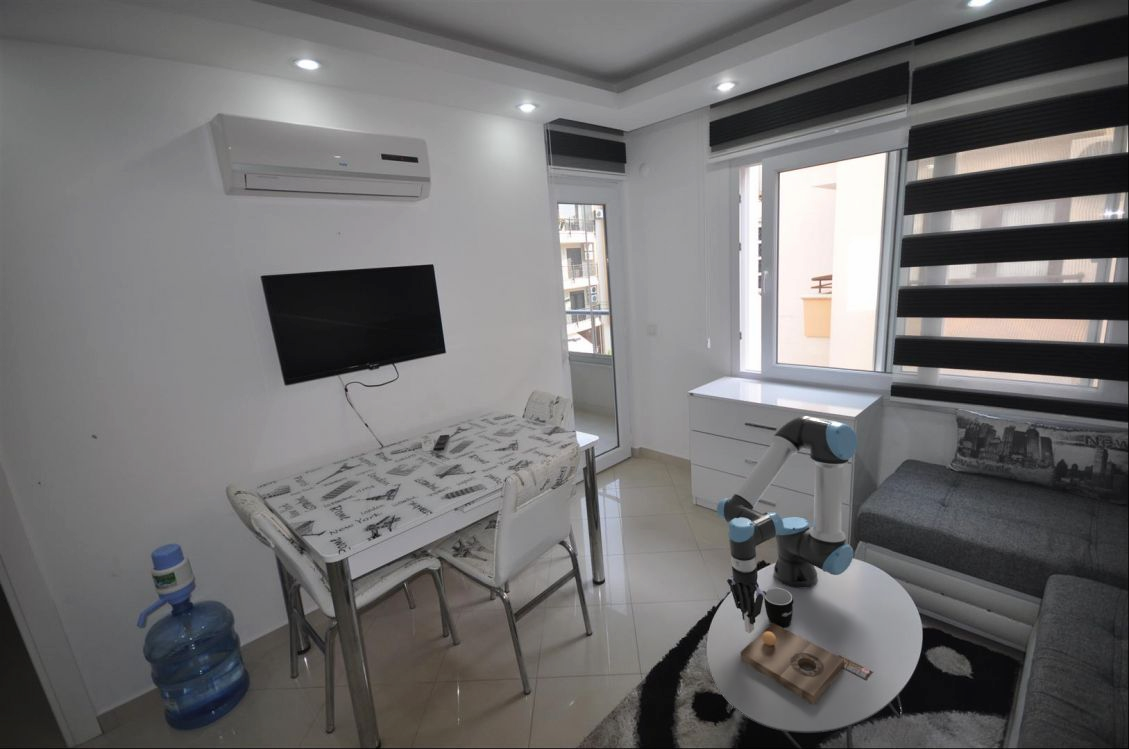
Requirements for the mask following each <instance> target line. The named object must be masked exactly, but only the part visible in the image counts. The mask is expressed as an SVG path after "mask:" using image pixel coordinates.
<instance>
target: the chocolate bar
mask: <svg viewBox="0 0 1129 749" xmlns="http://www.w3.org/2000/svg"><path fill="white" fill-rule="evenodd" d="M838 656H839V657H841V658H843V659H844V669H843V670H844V671H847V672H849V673H850V674H852V675H855V676H856V677H858V678H860V679H862V680H864V681H866V682H867V681H868V679H869V678H870V676H871V675H872V674H873V673H874V671H872V670H870V669H868V668H866V667H863V666H862V665H860V664H858V663H856V662H854V661H851V660H850V659H847V658H846V657H844V656H842V655H838Z"/></svg>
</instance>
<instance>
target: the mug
mask: <svg viewBox="0 0 1129 749" xmlns="http://www.w3.org/2000/svg"><path fill="white" fill-rule="evenodd" d="M764 591H765V592H766V595H765V596H764V598H763V603H764V608H765V612H766V615H767V619H768V622H769V623H770V624H771V623H774V624H776V625H778V626H780V627H782V628H784V629H786V628H788V627H789V626H790V625H791V624H792V620H793V614H794V613H793V612H794V611H793V610H794V609H793V608H794V602H795V600H794V596H793V595H792V594H791V592H789V591H788V590H787V589H784V588H781V587H771V588H768V589H766V590H764Z"/></svg>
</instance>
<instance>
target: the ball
mask: <svg viewBox="0 0 1129 749" xmlns="http://www.w3.org/2000/svg"><path fill="white" fill-rule="evenodd" d="M762 638H763V641H764V643H765V644H767V645H769V646H772V645H774V644H775V643H776V637H775V635H774V634H773V633H772V632H769V631H767V632H765V633H764V634H763V636H762Z"/></svg>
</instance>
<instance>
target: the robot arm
mask: <svg viewBox="0 0 1129 749" xmlns="http://www.w3.org/2000/svg"><path fill="white" fill-rule="evenodd" d="M771 441H772V443H771V444H770V446H769V447H768V448H767V449H766V451H765V453H764V454H763V455H762V456H761V458H760V459H759V461H758V462H757V463H756V464H755V465H754V467H753V468H752V470H751V471H750V473H749V474H747V476H746V478H745V479H744V480H743V482H742V483H741V485H740V486H739V487H738V488H737V489H736V491H735V493H734V494H733V495H732V496H731V498H728V497H725V498H723V499H721V500H720V501H718V504H717V507H716V513H717V515H718V517H719V518H720V519H722V520H723V521H725V522H726V523H728V539H729V541H728V542H729V550H730V559H731V571H732V576H730V577H729V578H728V579H726V582H727V584H728V586H729V587H730V591H731V594H732V597H733V601H734V604H735V607H736V608H737V609H738V610H739V609H740V611H741V616H742V620H743V621H744V631H745V632H747V633H748V634H750V633H752V632H753V631H754V630H755V623H756V618H757V617H758V616H759V615H760V614H761V612H762V608H763V603H764V596H765V595H766V592H765V591H766V590H761V588H760V587H759V583H758V568H757V566H758V564H757V552H756V547H757V546H760V545H761V544H763V543H765V542H767V541H769V540H772V539H773V538H776V548H777V549H776V550H777V558H776V561H775V563H774V566H773V568H774V569H773V573H774V574H773V575H774V578H775V579H776V580H777V582H779V583H780V584H782V585H784V586H787V587H789V588H796V589H807V588H810V587H812V586H814V585H815V584H816V583H817V582H818V572H817V569H816V568H818V569H819V570H822V571H823V572H824V573H825V572H826V573H829V574H830V575H833V576H839V575H841V574H843V573H844V572H845V571H846V570H847V569H848V568H849V566H850V565H851V563H852V562H853V559H854V549H853V547H852V546H851V545H850V544H848V543H847V542H846V540H847V536H846V534H845V532H844V531H843V530H842V514H843V513H842V512H843V510H842V508H843V485H844V484H843V483H844V482H843V481H844V466H845V465H846V464H848V463H849V460H850V459H852V458H853V457H854V455H855V454H856V451H857V449H858V444H859V442H858V436H857V433H856V431H855V430H854V428H852V426H850V425H848V423H847V424H846V423H843V422H840V421H837V420H831V419H826V418H821V417H815V416H812V415H803V416H798V417H795V418H793V419H791V420H789V421H788V422H786V423H785V424H783V425H782V426H781V427H780V428H779V429H778V430H777V431H776V433H775V434H774V435H773V436H772V440H771ZM802 449H805V450H810V451H809V452H810V453H809V454H810V460H811V461H812V462H814V491H813V494H814V496H813V497H814V500H813V526H811V525H810V523H809V521H808V520H807V519H805V518H803V517H798V516H793V517H792V516H791V517H790V516H789V517H784V518H782V517H781V516H780V515H779V514H778V513H777V512H775V511H771V510H769V511H767V512H763V513H761V512H759V511H758V510H755V509H754V508H755V506H756V505H757V504H758V502H759V501H760V499H761V498H762V497H763V496H764V494H765V493H766V492H767V490H768V489H769V487H770V486H771V484H772V483H773V481H775V479H776V477H777V476H778V475H779V473H780V472H781V471H782V470H783V468H784V467H785V465H786V464H787V463H788V461H789V460H790V458H791V457H792V456H793V455H794V456H795V455H797V454H798V453H799V452H800V451H801V450H802ZM810 526H811V527H810ZM755 597H756V598H755Z"/></svg>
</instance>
